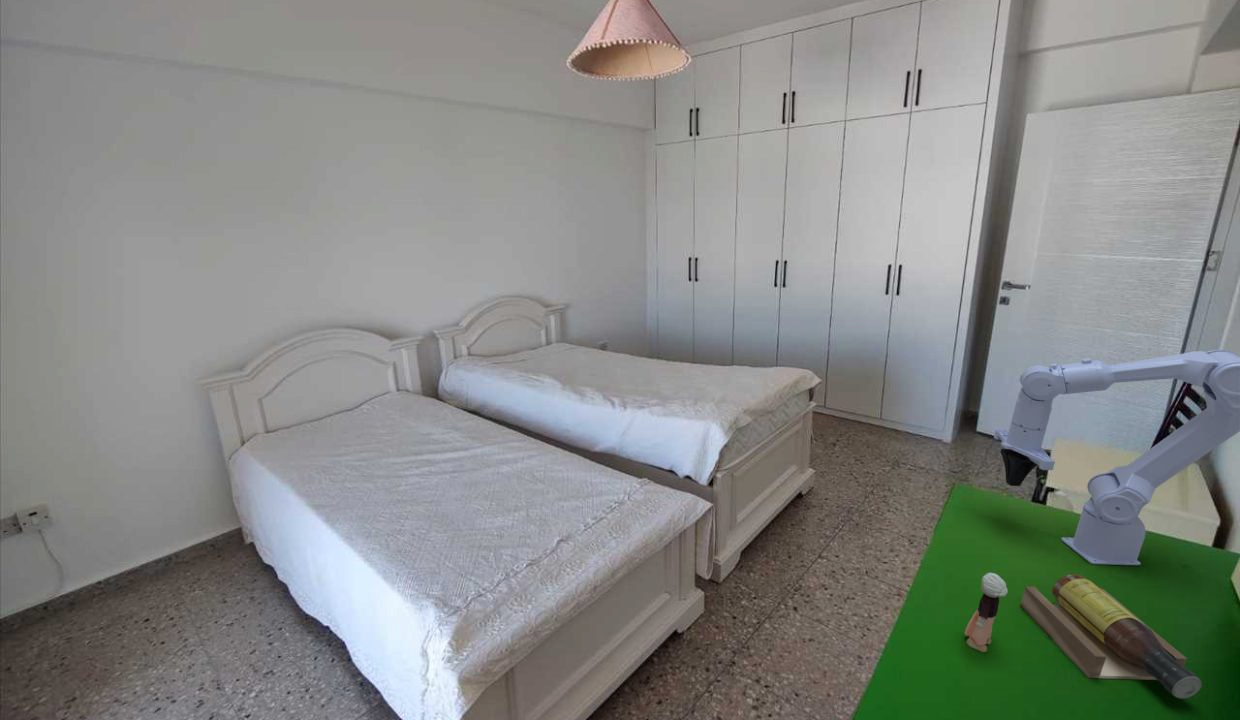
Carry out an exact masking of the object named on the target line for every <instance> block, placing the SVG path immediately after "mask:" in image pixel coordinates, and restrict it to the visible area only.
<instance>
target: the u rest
mask: <svg viewBox="0 0 1240 720" xmlns="http://www.w3.org/2000/svg"><path fill="white" fill-rule="evenodd" d="M1100 589H1101V590H1102V591H1104V592H1105V593H1106V594H1107V595H1109V596H1110V597H1111V598H1112V599H1114V600H1115V601H1116V602H1117V603H1118V604H1120V605H1121V606H1122V607H1123V608H1125V609H1126V610H1127V611H1128V612H1130V613H1131V614H1132V615H1134V616H1135V617H1136V618H1137V619H1139V620H1140V621H1141V622H1142V623H1144V624H1145V625H1146V626H1147V627H1148V628H1150V630H1151V631H1152V632H1153V634H1154V636H1155V637H1156V638H1157V640H1158V641H1159V642H1160V644H1161V645H1162V646H1163V648H1164V649H1165V651H1166V652H1167V653H1168V654H1169V655H1170V656H1172V658H1173V659H1174V660H1175V661H1177V662H1178V663H1179V664H1180V665H1182V666H1183V667H1184V668H1185V666H1186V663H1187V660H1188V658H1187V657H1186V656H1185V655H1183V654H1182V653H1181V652H1180V651H1179V650H1177V649H1176V648H1175V647H1173V646H1172V645H1171V644H1170V643H1169V642H1167V640H1165V639H1164V637H1161V636H1160V635H1159V634H1158V632H1155V631H1154V630H1153V629H1152V628H1151V627H1150V626H1148V625H1147V624H1146V623H1145V622H1144V621H1142V619H1140V618H1138V616H1136V615H1135V614H1134V613H1133V612H1132V611H1130V610H1129V609H1128V608H1127V607H1126V606H1125V605H1123V604H1122V603H1121V602H1120V601H1118V600H1117V599H1116V598H1115V597H1113V596H1112V595H1111V594H1110V593H1108V592H1107V591H1106V590H1105V589H1104V588H1100ZM1019 607H1021V608H1022V610H1023V612H1025V613H1026V614H1027V615H1028V616H1029V617H1030V618H1031V619H1032V620H1033V621H1034V622H1035V623H1036V624H1037V625H1038V626H1039V628H1040V629H1042V630H1043V632H1044V633H1045V634H1046V635H1047V636H1048V638H1050V639H1051V640H1052V641H1053V642H1054V643H1055V644H1056V645H1057V647H1059V649H1061V650H1062V652H1063V653H1064V654H1065V655H1066V656H1067V657H1068V658H1069V659H1070V660H1071V661H1072V662H1073V663H1074V664H1075V665H1076V666H1077V668H1079V669H1080V670H1081V672H1083V674H1084V675H1085V676H1086V677H1087V678H1089V679H1117V680H1118V679H1119V680H1150V681H1153V680H1155V681H1158V680H1157V679H1156V678H1155V677H1154V676H1153V675H1151V674H1150V673H1148V672H1147V671H1146V670H1145V669H1143V668H1141V667H1138V666H1135V665H1132V664H1131V663H1129V662H1127V661H1125V660H1123V659H1121V658H1120V657H1119V656H1118V655H1117V654H1116V653H1115V652H1114V651H1112V650H1111V649H1110V648H1108V647H1107V646H1106V645H1105V644H1104V643H1102V642H1101V641H1100V640H1099V639H1098V638H1097V637H1096V636H1095V635H1094V634H1093V633H1091V632H1090V631H1089V630H1088V629H1087V628H1086V627H1085V626H1084V625H1082V624H1081V623H1080V622H1079V621H1078V620H1077V619H1076V618H1075V617H1073V616H1072V615H1071V614H1070V613H1069V612H1068V611H1067V610H1066V609H1065V608H1063V607H1062V606H1061V605H1060V603H1059V604H1058V603H1057V604H1053V603H1052V602H1050V600H1049V599H1048V598H1047V597H1046V596H1044V594H1042V593H1041V591H1039V590H1038V589H1037V588H1036V587H1035V586H1025V588H1024V591H1023V594H1022V598H1021V601H1020V605H1019Z"/></svg>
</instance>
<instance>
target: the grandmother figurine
mask: <svg viewBox="0 0 1240 720" xmlns="http://www.w3.org/2000/svg"><path fill="white" fill-rule="evenodd" d="M980 586H981V587H980V588H981V591H982V593H983V594H982V596H981V597H980V600H979V605H978V608H977V610H976V611H975V612H974V614H973V615H972V617H971V618H970V620H969V622H968V624H967V626H966V628H965V630H964V635H965V636H967V637H968V638H967V639H966V644H967V645H968V646H969V647H970V648H973V649H974V650H977V651H979V652H981V653H986V652H988V647H987V645H990V644H992V639H991V637H992V633H993V632H992V631H993V624H994V621H995V619H996V616H997V614H998V611H999V608H1000V605H999V604H1000V597H1005V596H1006V595H1008V592H1009V591H1008V588H1007V583H1006V582H1005V580H1004V579H1003V578H1001V576H999V575H998V574H997V573H994V572H987V573H986V574H984V575H983V576H982V579H981V585H980Z"/></svg>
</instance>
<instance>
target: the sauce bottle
mask: <svg viewBox="0 0 1240 720" xmlns="http://www.w3.org/2000/svg"><path fill="white" fill-rule="evenodd" d="M1101 589H1102V588H1100V587H1098V586H1097V585H1096V584H1095V583H1094V582H1092V581H1091V580H1089V579H1087V578H1085V577H1084V576H1082V575H1080V574H1076V573H1075V574H1073V573H1072V574H1067V575H1063V576H1062V577H1060V578H1058V579H1057V581H1056V582H1055V584H1054V585H1053V586H1052V591H1051V593H1052V596H1053V598H1054V599H1055V601H1056V602H1058V603H1059V604H1060V605H1061V606H1062V607H1063V608H1065V609H1066V610H1067V611H1068V612H1069V613H1070V614H1071V615H1072V616H1073V617H1075V618H1076V619H1077V620H1078V621H1079V622H1080V623H1081V624H1082V625H1084V626H1085V627H1086V628H1087V629H1088V630H1089V631H1090V632H1091V633H1093V634H1094V635H1095V636H1096V637H1097V638H1098V639H1099V640H1100V641H1101V642H1102V643H1104V644H1105V645H1106V646H1107V647H1108V648H1110V649H1111V650H1112V651H1114V652H1115V653H1116V654H1117V655H1118V656H1119V657H1120V658H1121V659H1123V660H1125V661H1127V662H1129V663H1131V664H1132V665H1135V666H1138V667H1141V668H1143V669H1145V670H1146V671H1147V672H1148V673H1150V674H1151V675H1153V676H1154V677H1155V678H1156V679H1157V680H1156V681H1158V682H1159V683H1160V684H1162V685H1163V687H1164V689H1165V690H1166V691H1167V692H1168V693H1169V694H1171V695H1172V696H1173V697H1175V698H1178V699H1188V698H1191V697H1192V696H1195V694H1197V693H1198V692H1199V691H1200V690H1201V688H1202V681H1201V679H1200V677H1198V676H1197V675H1196V674H1195V673H1194V672H1192V671H1191V670H1189V669H1187V668H1186V667H1185V666H1184V667H1183V666H1182V665H1180V664H1179V663H1178V662H1177V661H1175V660H1174V659H1173V658H1172V656H1170V655H1169V654H1168V653H1167V652H1166V651H1165V649H1164V648H1163V646H1162V645H1161V644H1160V642H1159V641H1158V640H1157V638H1156V637H1155V636H1154V634H1153V632H1152V631H1151V630H1150V628H1151V627H1150V628H1148V627H1149V626H1148V625H1147V624H1146V623H1145V622H1143V621H1142V620H1141V619H1140V618H1139V619H1140V620H1141V621H1142V622H1143V623H1142V622H1141V621H1140V620H1139V619H1137V618H1138V617H1137V616H1136V615H1135V614H1134V615H1135V616H1136V617H1137V618H1136V617H1135V616H1134V615H1132V614H1131V613H1132V612H1131V611H1130V612H1131V613H1130V612H1128V611H1127V610H1126V609H1125V608H1126V607H1125V608H1123V607H1122V606H1121V605H1120V604H1118V603H1117V602H1116V601H1115V600H1114V599H1112V598H1111V597H1110V596H1109V595H1107V594H1106V593H1105V592H1104V591H1102V590H1101ZM1144 623H1145V624H1146V625H1147V626H1148V627H1147V626H1146V625H1145V624H1144Z"/></svg>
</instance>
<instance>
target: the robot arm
mask: <svg viewBox="0 0 1240 720" xmlns="http://www.w3.org/2000/svg"><path fill="white" fill-rule="evenodd" d="M1170 379H1171V380H1172V379H1175V380H1179V381H1181V382H1184V383H1187V384H1190V385H1193V386H1195V387H1199V388H1203V390H1204V391H1203V392H1204V398H1205V403H1206V404H1205V405H1206V408H1205V409H1203V410H1202V411H1200V412H1199V413H1198V414H1196V415H1195V416H1194V417H1192V418H1191V419H1189V420H1188V421H1187V422H1186V423H1184V424H1182V425H1181V426H1179V428H1177V429H1175V431H1173V432H1171V433H1170V434H1169V435H1167V436H1166V437H1164V438H1163V439H1162V440H1160V441H1159V442H1158V443H1157V444H1155V445H1154V446H1152V447H1151V448H1149V449H1148V450H1147V451H1145V452H1144V453H1143V454H1141V455H1139V456H1138V457H1137V458H1135V459H1134V460H1133V461H1131V462H1130V463H1129V464H1127V465H1119V466H1115V467H1113V468H1112V469H1110V470H1109V471H1107V472H1104V473H1098V474H1095V475H1094V476H1092V477H1091V478H1090V479H1089V480H1088V482H1087V485H1086V486H1087V487H1086V488H1087V490H1088V493H1089V495H1090V496H1091V497H1090V498H1089V499H1088V500H1087V501H1085V503H1084V505H1083V506H1082V510H1081V514H1080V518H1079V521H1078V524H1077V527H1076V530H1075V534H1074V536H1073V537H1061V538H1060V539H1061V541H1062V542H1064V543H1065V544H1066V545H1067V546H1068V547H1069V548H1071V549H1072V550H1073V551H1074V552H1075V553H1077V554H1078V555H1079V556H1081V557H1082V558H1083V559H1084V560H1085V561H1087V562H1089V563H1090V564H1091V565H1112V566H1113V565H1116V566H1118V565H1119V566H1140V565H1141V562H1140V561H1139V560H1138V558H1139V556H1140V552H1141V549H1142V547H1143V544H1144V540H1145V538H1146V534H1147V533H1146V526H1145V525H1144V523H1143V521H1142V519H1141V518H1140V517H1139V516H1140V513H1141V511H1142V509H1143V508H1144V507H1145V506H1146V505H1148V504H1149V503H1150V502H1151V500H1152V498H1153V495H1154V493H1155V490H1156V488H1159V487H1160V486H1161V485H1163V484H1164V483H1165V482H1167V481H1168V480H1170V479H1172V478H1173V477H1174V476H1176V475H1178V473H1180V472H1182V471H1184V470H1185V469H1186V468H1188V467H1189V466H1191V465H1192V464H1194V463H1196V461H1198V460H1199V459H1201V458H1202V457H1204V456H1205V455H1207V454H1208V453H1210V452H1211V451H1213V450H1215V448H1217V447H1219V446H1220V445H1221V444H1223V443H1225V442H1226V441H1228V440H1229V439H1231V438H1233V436H1236V434H1238V433H1239V432H1240V355H1239V354H1237V353H1236V352H1233V351H1230V350H1226V349H1213V350H1209V351H1203V350H1200V351H1195V350H1194V351H1190V352H1185V353H1178V354H1174V355H1167V356H1161V357H1159V356H1158V357H1154V358H1147V359H1140V360H1136V361H1129V362H1121V363H1116V364H1107V363H1105V362H1103V361H1101V360H1099V359H1096V360H1093V359H1091V358H1090V357H1087V358H1085V357H1084V358H1082V359H1081V362H1072V363H1064V364H1057V363H1056V362H1055V363H1050V364H1049V367H1048V366H1044V365H1038V364H1037V365H1032V366H1030V367H1027V368H1026V369H1025V370H1024V371H1023V372H1022V373H1021V374H1020V375H1019V382H1020V385H1022V387H1021V388H1020V390H1019V393H1018V395H1017V397H1018V398H1017V399H1016V401H1015V406H1014V408H1013V409H1014V410H1013V414H1012V418H1011V422H1010V426H1009V430H1008V431H1007V430H1006V429H995V431H994V435H993V438H994V439H995V440H997V441H998V440H1000V441H1001V442H1000V446H1001V447H1003V448H1001V449H1000V454H1001V457H1002V460H1003V464H1004V470H1005V481H1006V484H1007V485H1009V486H1010V487H1020V486H1021V485H1022V484H1023V482H1024V481H1025V479H1026V478H1027V476H1028V474H1030V473H1031V472H1032V471H1033V470H1034V469H1036V467H1037V466H1038V468H1039V469H1040V470H1042V471H1053V470H1054V466H1055V463H1056V461H1055V460H1053V458H1051V457H1050V456H1049V455H1048V453H1047V452H1046V451H1045V449H1043V447H1042V446H1043V442H1044V439H1045V434H1046V432H1047V427H1048V424H1049V420H1050V415H1051V412H1052V409H1053V408H1052V405H1053V401H1054V399H1055V398H1056V397H1058V396H1059V395H1070V394H1071V395H1072V394H1081V393H1082V394H1083V393H1089V392H1090V393H1092V392H1099V391H1106V390H1107V389H1108V388H1110V387H1111V386H1113V385H1114V384H1115V383H1128V382H1141V381H1142V382H1143V381H1145V382H1146V381H1156V380H1157V381H1159V380H1170Z"/></svg>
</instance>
